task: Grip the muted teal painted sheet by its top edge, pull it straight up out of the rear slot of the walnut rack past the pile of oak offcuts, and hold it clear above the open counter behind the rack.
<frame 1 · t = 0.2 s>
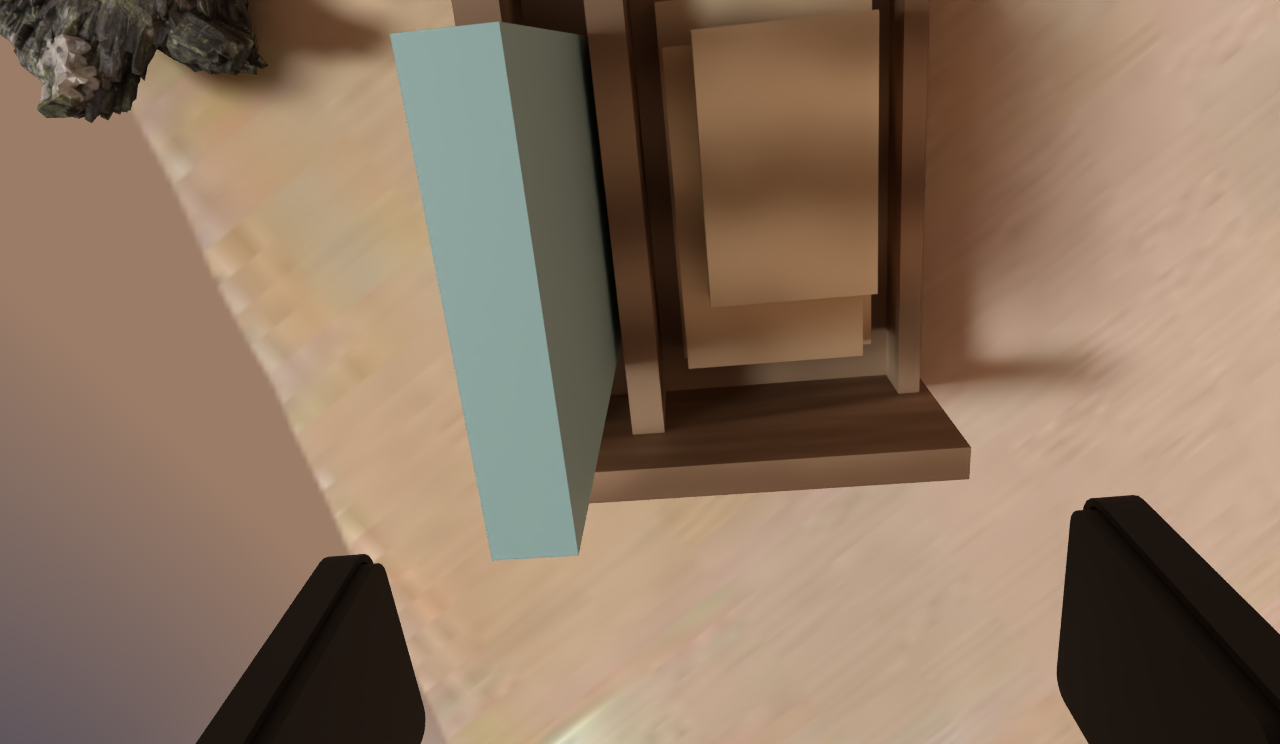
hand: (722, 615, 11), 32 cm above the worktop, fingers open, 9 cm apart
teal sheet: (582, 195, 39), point 1 cm above the worktop, touching walnut rack
walnut rack: (705, 179, 40), on the worktop
offcut stack: (765, 178, 39), point 1 cm above the worktop, touching walnut rack
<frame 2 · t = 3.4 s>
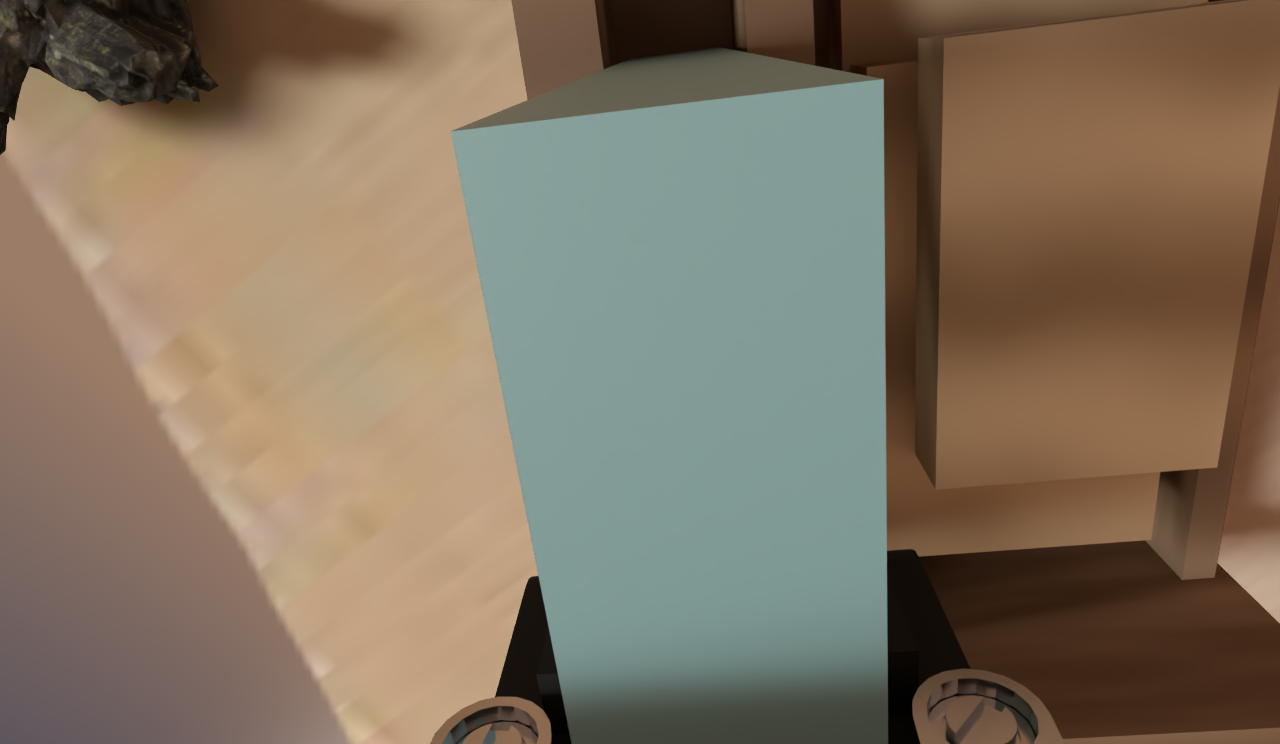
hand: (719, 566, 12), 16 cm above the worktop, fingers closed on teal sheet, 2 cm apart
teal sheet: (697, 289, 26), point 1 cm above the worktop, touching gripper, walnut rack
walnut rack: (880, 257, 27), on the worktop
offcut stack: (984, 259, 25), point 1 cm above the worktop, touching walnut rack
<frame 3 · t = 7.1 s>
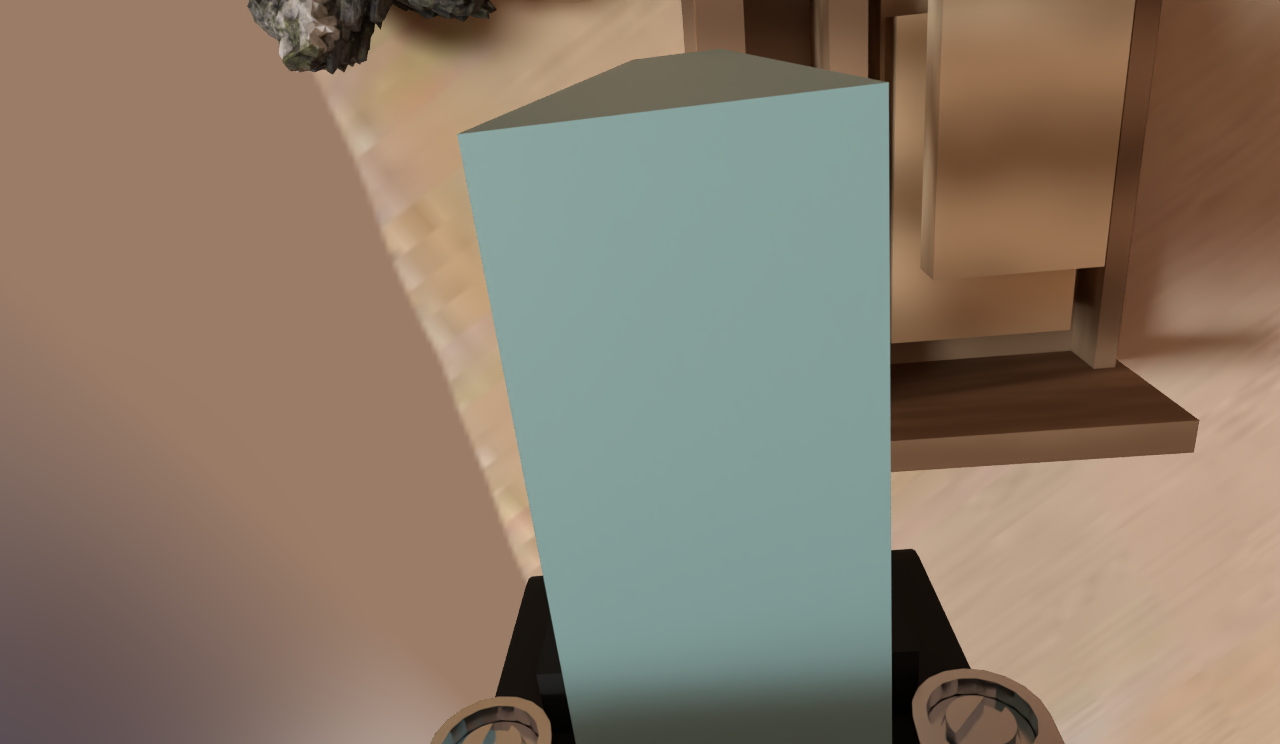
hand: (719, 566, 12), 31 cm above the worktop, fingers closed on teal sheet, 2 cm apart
teal sheet: (699, 290, 26), point 17 cm above the worktop, touching gripper
walnut rack: (898, 153, 40), on the worktop
offcut stack: (966, 151, 38), point 1 cm above the worktop, touching walnut rack
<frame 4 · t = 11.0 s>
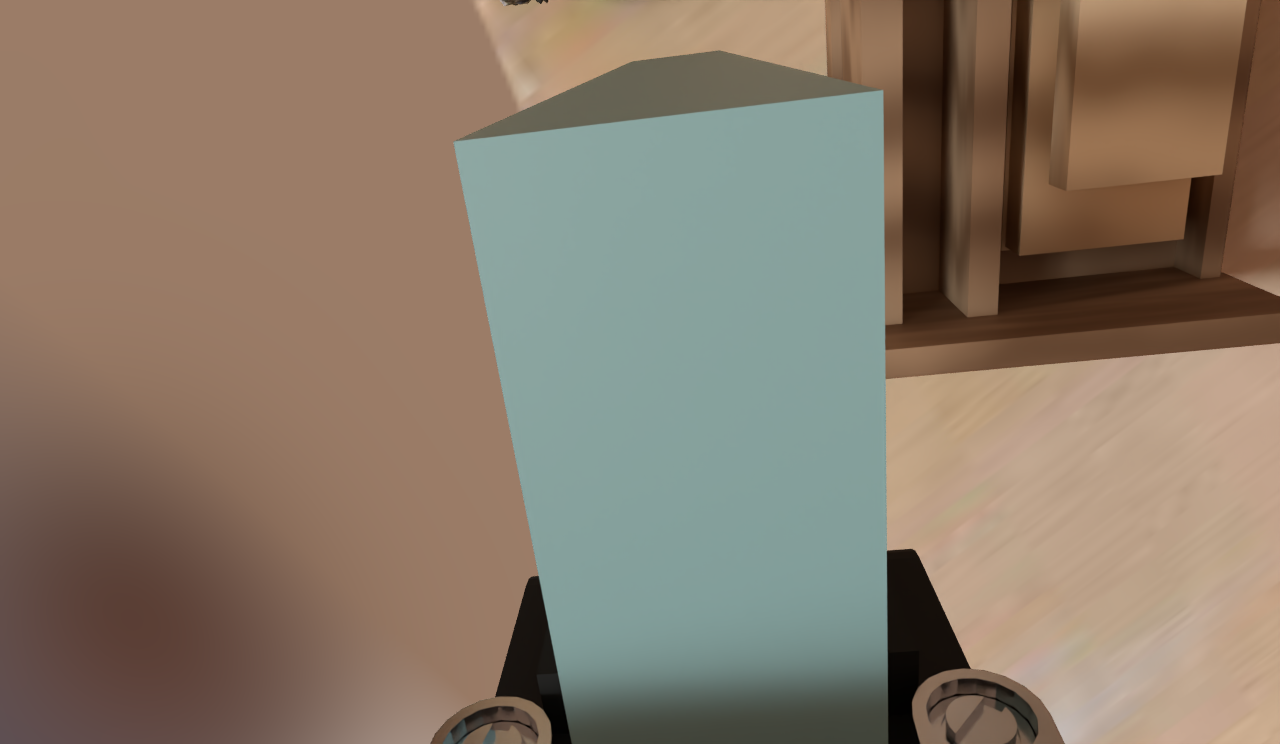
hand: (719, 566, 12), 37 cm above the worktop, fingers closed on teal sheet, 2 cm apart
teal sheet: (698, 291, 26), point 22 cm above the worktop, touching gripper
walnut rack: (1016, 86, 44), on the worktop
offcut stack: (1083, 81, 42), point 1 cm above the worktop, touching walnut rack
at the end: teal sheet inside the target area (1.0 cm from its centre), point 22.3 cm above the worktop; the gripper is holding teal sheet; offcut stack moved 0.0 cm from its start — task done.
